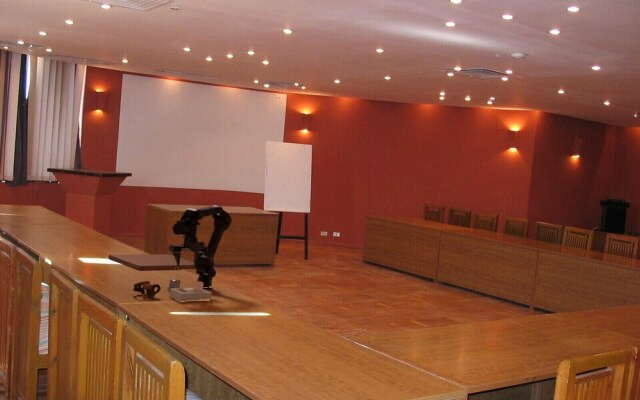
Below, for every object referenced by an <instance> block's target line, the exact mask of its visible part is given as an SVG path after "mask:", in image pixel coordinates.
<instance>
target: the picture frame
mask: <svg viewBox="0 0 640 400" xmlns="http://www.w3.org/2000/svg"><path fill="white" fill-rule="evenodd" d="M108 260H110V261H113V262H116V263H119V264H122V265H124V266H126V267H130V268H132V269H135V270H137V271H162V270H163V271H164V269H171V270H196V266H194V261H190V260H187V259H184V258H181V257H180V264H179V266H177V263H176V260H175V257H174V255H171V254H168V253H167V254H166V253H164V254H163V253H161V254H159V253H157V254H152V253H151V254H141V253H139V254H108ZM175 268H176V269H175ZM178 268H179V269H178Z"/></svg>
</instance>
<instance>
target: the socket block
mask: <svg viewBox="0 0 640 400" xmlns="http://www.w3.org/2000/svg"><path fill="white" fill-rule="evenodd" d="M212 293H213V292H212V291H208V290H207V289H203V290H202V292H195V291H193V287H184V288H183V287H180V288H174V289H170V293H169V295H168V297H169V296H170V297H173V298H175V299H177V300H179V301H186V300H199V299H207V298H211V299H212ZM170 297H169V298H170Z"/></svg>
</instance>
